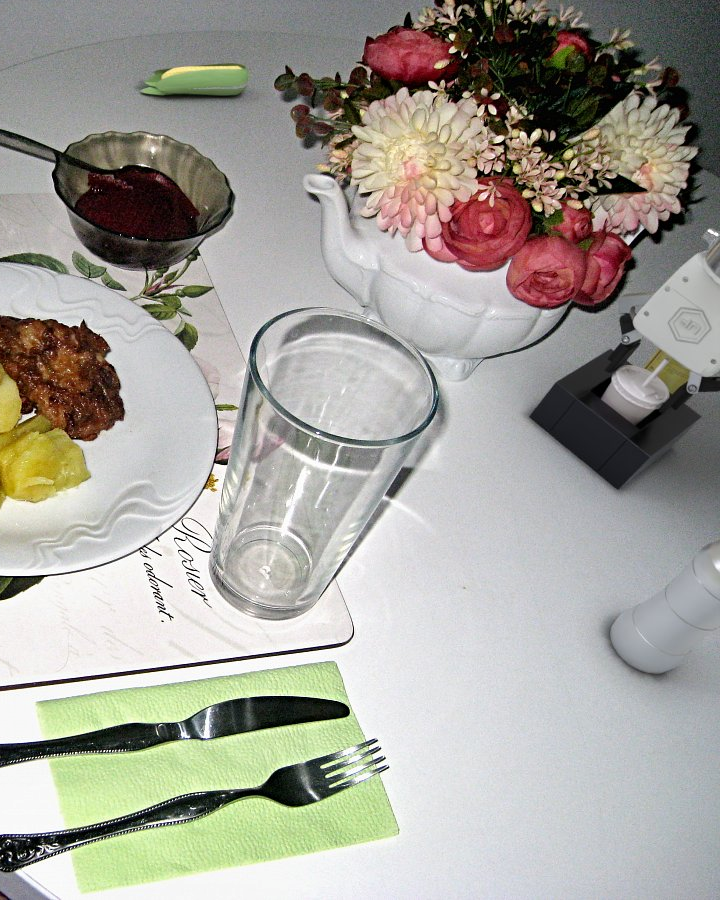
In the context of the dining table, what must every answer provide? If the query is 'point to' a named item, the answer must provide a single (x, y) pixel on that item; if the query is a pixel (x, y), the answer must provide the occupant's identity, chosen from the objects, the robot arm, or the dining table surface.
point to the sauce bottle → (668, 371)
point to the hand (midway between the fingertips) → (639, 387)
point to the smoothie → (636, 391)
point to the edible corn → (198, 80)
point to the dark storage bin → (607, 424)
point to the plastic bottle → (672, 617)
